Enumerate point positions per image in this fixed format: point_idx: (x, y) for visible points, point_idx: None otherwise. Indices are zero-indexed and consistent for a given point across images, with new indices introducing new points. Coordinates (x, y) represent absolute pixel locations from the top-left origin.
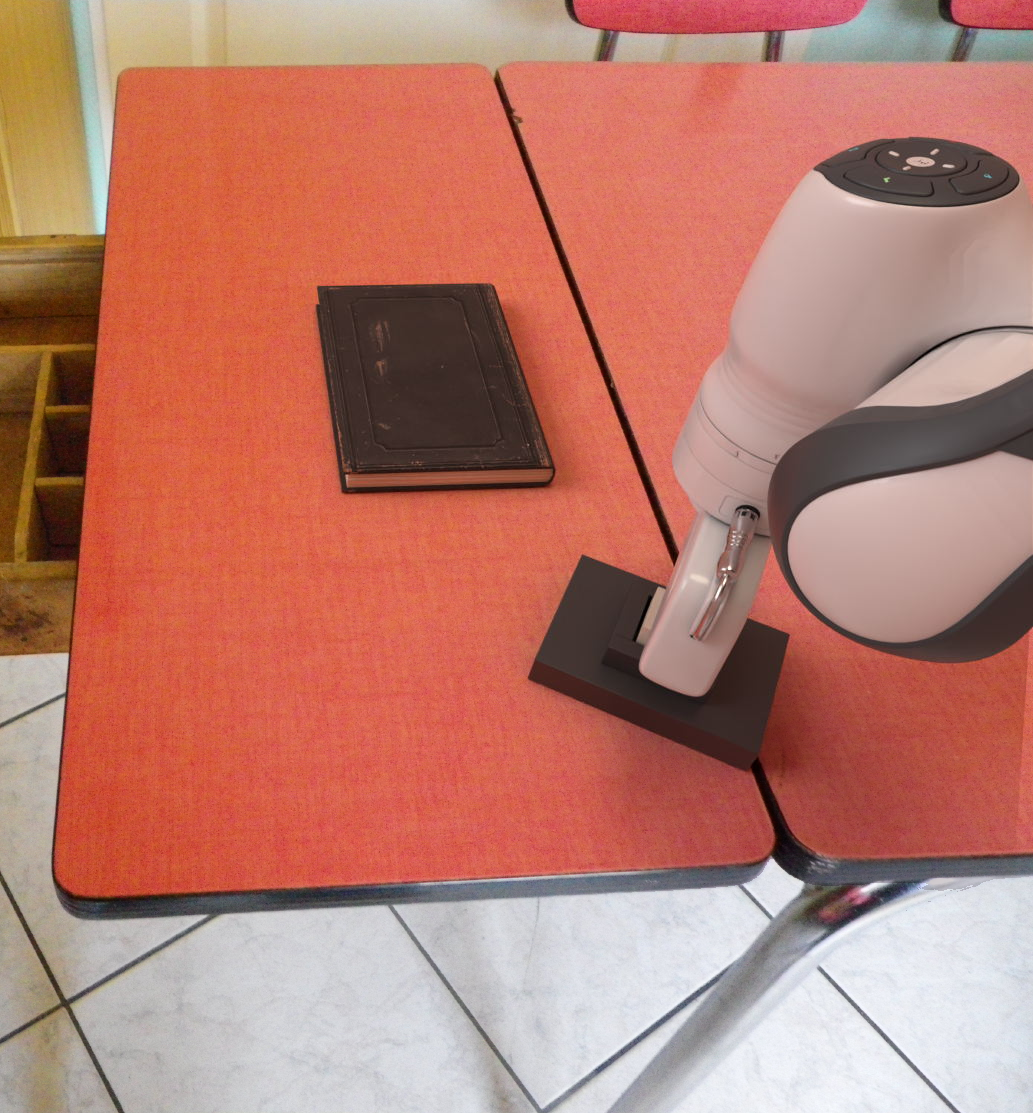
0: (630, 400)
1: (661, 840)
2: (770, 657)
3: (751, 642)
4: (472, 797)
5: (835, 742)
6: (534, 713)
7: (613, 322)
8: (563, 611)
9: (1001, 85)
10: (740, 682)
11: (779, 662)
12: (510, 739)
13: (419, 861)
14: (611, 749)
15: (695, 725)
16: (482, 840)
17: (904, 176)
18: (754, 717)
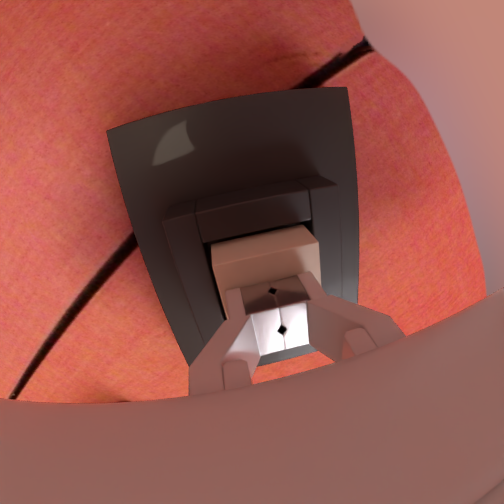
0: (8, 382)
1: (431, 147)
2: (169, 131)
3: (162, 166)
4: (444, 282)
5: (212, 18)
6: (371, 294)
7: None
8: (283, 355)
9: None
10: (248, 146)
11: (170, 116)
12: (400, 292)
13: (478, 277)
14: (376, 223)
15: (354, 171)
16: (465, 259)
17: None
18: (297, 108)
